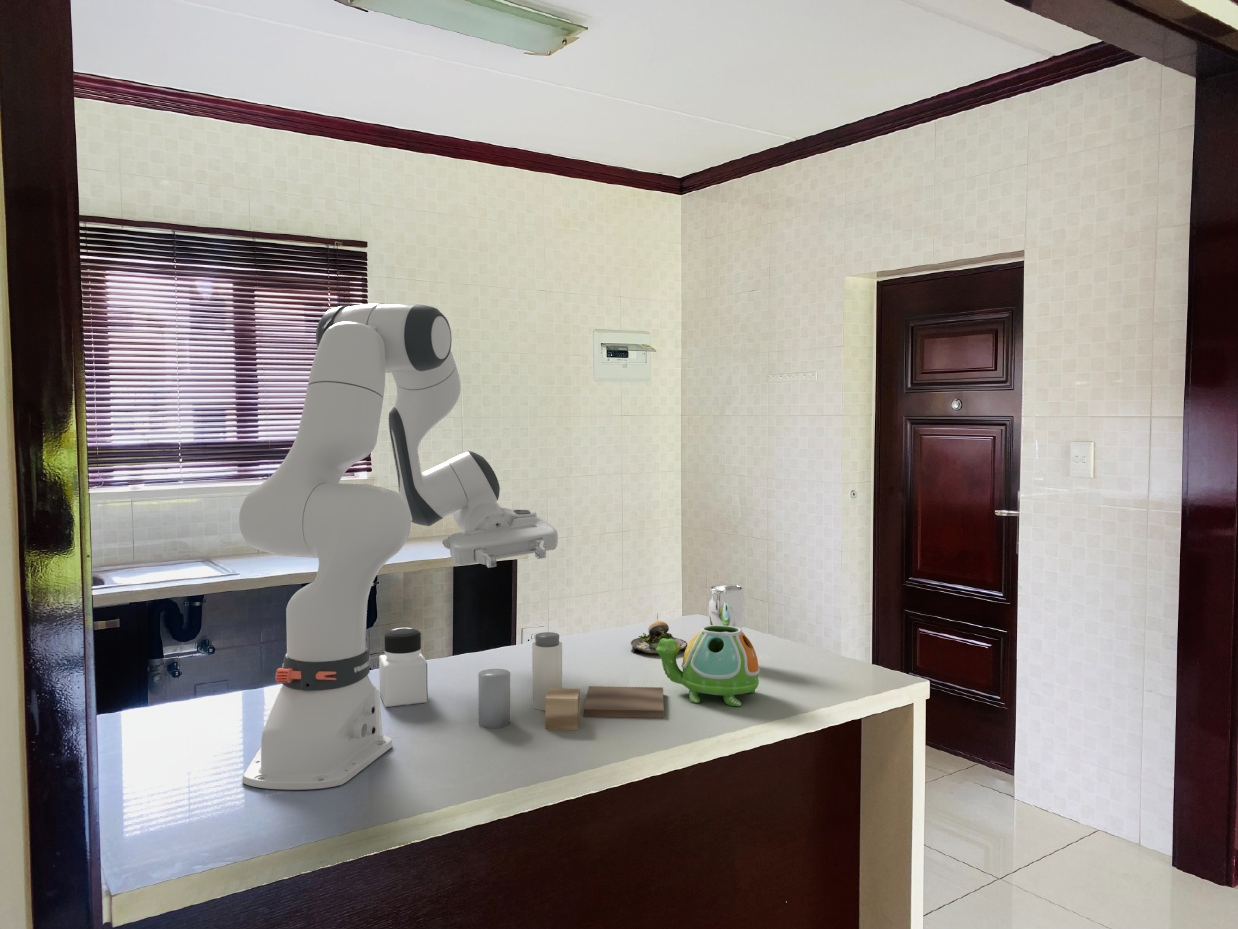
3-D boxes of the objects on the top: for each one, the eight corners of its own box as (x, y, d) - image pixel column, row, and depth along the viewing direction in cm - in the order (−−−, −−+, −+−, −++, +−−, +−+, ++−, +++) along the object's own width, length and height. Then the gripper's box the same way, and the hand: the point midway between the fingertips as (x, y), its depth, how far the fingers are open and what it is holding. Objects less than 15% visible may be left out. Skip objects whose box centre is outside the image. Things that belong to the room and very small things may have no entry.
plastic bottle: (560, 710, 150) (560, 639, 149) (530, 710, 150) (530, 638, 149) (563, 701, 155) (563, 631, 154) (534, 700, 155) (534, 631, 154)
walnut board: (663, 717, 147) (663, 710, 147) (583, 716, 147) (583, 709, 147) (662, 694, 159) (662, 687, 159) (588, 693, 159) (588, 686, 159)
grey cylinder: (507, 728, 142) (507, 678, 141) (475, 728, 142) (475, 677, 141) (512, 717, 147) (512, 669, 146) (481, 717, 147) (481, 668, 146)
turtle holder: (666, 679, 167) (666, 615, 167) (764, 689, 162) (765, 623, 161) (647, 700, 156) (648, 631, 155) (752, 711, 150) (753, 640, 149)
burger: (624, 657, 183) (625, 620, 183) (636, 642, 195) (636, 607, 194) (683, 661, 181) (683, 624, 180) (691, 645, 192) (692, 611, 192)
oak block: (577, 730, 141) (577, 698, 141) (545, 729, 141) (545, 698, 141) (579, 719, 146) (580, 688, 146) (549, 718, 146) (549, 688, 146)
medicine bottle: (427, 703, 153) (427, 633, 153) (384, 708, 151) (383, 637, 150) (420, 690, 160) (420, 623, 159) (379, 695, 157) (378, 627, 157)
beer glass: (704, 666, 176) (705, 589, 175) (711, 656, 182) (712, 583, 181) (740, 669, 174) (741, 592, 173) (746, 659, 180) (747, 585, 179)
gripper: (439, 523, 169) (461, 552, 157) (541, 508, 178) (569, 534, 166) (440, 554, 171) (462, 585, 159) (541, 538, 180) (569, 565, 168)
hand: (517, 559), depth 163 cm, fingers open, 8 cm apart
